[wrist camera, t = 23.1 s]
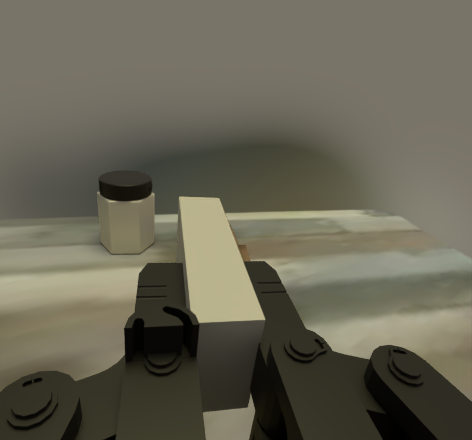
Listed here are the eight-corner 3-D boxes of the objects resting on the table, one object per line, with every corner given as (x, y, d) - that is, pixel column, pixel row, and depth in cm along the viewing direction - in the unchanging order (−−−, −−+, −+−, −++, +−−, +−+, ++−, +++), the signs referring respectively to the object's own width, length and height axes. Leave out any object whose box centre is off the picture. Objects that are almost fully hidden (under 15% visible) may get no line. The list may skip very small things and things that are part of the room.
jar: (162, 247, 57) (162, 182, 52) (116, 261, 52) (112, 189, 47) (138, 228, 63) (136, 167, 58) (95, 238, 58) (89, 172, 53)
